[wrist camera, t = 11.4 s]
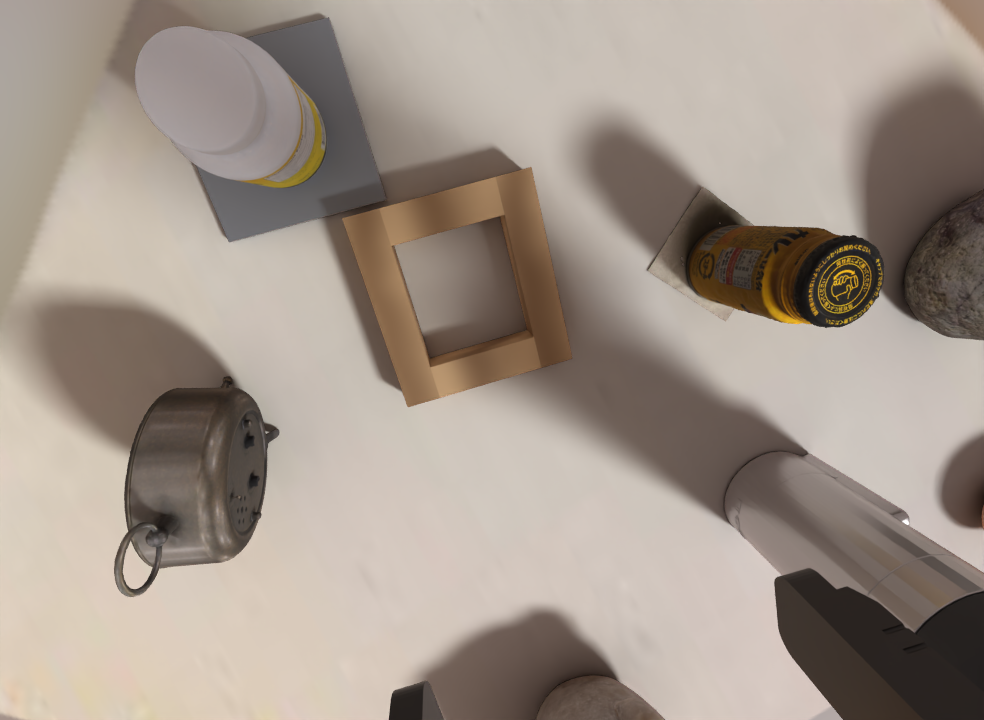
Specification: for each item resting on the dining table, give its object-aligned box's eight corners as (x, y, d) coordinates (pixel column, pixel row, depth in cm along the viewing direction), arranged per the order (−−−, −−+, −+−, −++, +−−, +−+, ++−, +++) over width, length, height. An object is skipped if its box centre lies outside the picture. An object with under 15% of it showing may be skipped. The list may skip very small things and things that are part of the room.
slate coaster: (330, 21, 29) (328, 17, 29) (386, 199, 33) (386, 199, 32) (156, 64, 29) (151, 61, 28) (232, 241, 32) (229, 242, 32)
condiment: (724, 320, 39) (846, 362, 28) (646, 270, 37) (745, 293, 26) (777, 243, 38) (929, 254, 26) (700, 186, 36) (829, 171, 24)
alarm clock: (203, 362, 34) (23, 478, 19) (281, 363, 35) (168, 475, 20) (219, 492, 37) (76, 684, 22) (290, 490, 38) (200, 674, 23)
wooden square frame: (524, 170, 33) (531, 166, 31) (563, 350, 38) (572, 358, 36) (347, 218, 33) (342, 218, 30) (408, 395, 37) (407, 407, 35)
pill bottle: (204, 103, 29) (69, 33, 18) (299, 63, 29) (223, -31, 18) (259, 205, 31) (169, 197, 20) (348, 167, 31) (306, 139, 20)
